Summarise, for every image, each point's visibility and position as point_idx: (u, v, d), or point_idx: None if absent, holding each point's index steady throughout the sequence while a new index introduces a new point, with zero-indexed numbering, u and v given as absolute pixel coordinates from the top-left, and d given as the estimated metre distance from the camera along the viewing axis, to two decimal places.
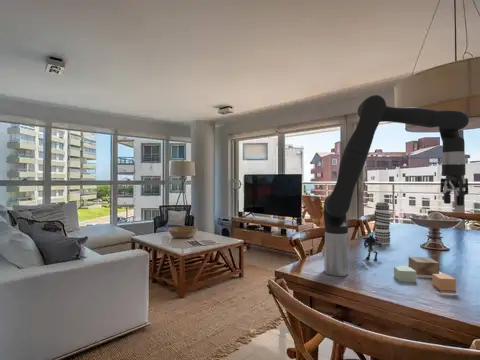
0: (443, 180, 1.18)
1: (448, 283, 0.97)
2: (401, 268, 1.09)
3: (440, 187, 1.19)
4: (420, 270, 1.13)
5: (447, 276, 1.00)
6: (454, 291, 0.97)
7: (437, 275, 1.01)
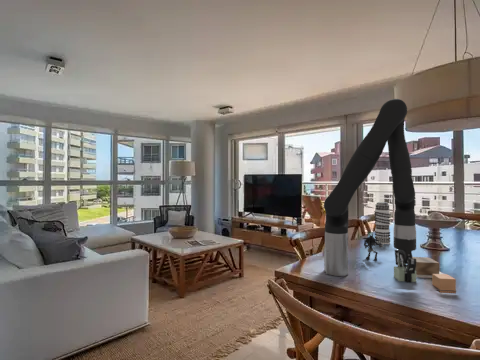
0: (397, 252, 1.14)
1: (448, 283, 0.97)
2: (401, 268, 1.09)
3: (395, 259, 1.14)
4: (420, 270, 1.13)
5: (447, 276, 1.00)
6: (454, 291, 0.97)
7: (437, 275, 1.01)
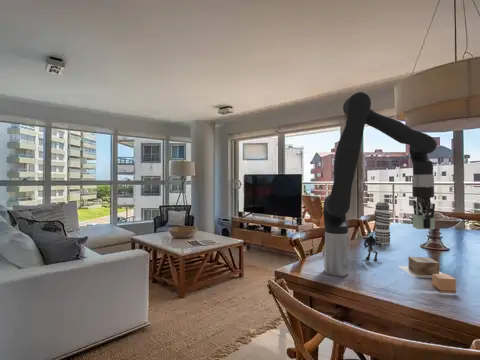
0: (415, 202, 1.22)
1: (448, 283, 0.97)
2: (420, 215, 1.16)
3: None
4: (420, 270, 1.13)
5: (447, 276, 1.00)
6: (454, 291, 0.97)
7: (437, 275, 1.01)
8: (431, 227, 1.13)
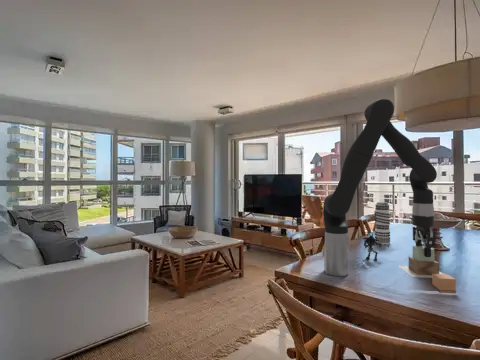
0: (415, 228, 1.22)
1: (448, 283, 0.97)
2: (420, 247, 1.17)
3: None
4: (420, 270, 1.13)
5: (447, 276, 1.00)
6: (454, 291, 0.97)
7: (437, 275, 1.01)
8: (431, 259, 1.14)
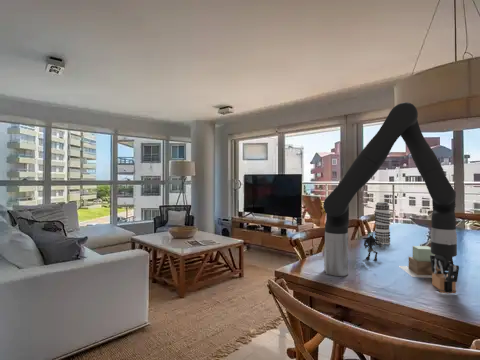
0: (433, 257, 1.05)
1: None
2: (420, 247, 1.17)
3: (431, 265, 1.06)
4: (420, 270, 1.13)
5: None
6: (454, 291, 0.97)
7: (437, 275, 1.01)
8: None
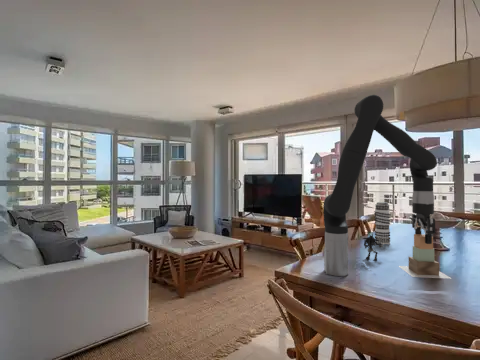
0: (414, 216, 1.22)
1: None
2: None
3: (412, 222, 1.24)
4: (420, 270, 1.13)
5: None
6: (431, 247, 1.14)
7: (418, 235, 1.18)
8: (431, 259, 1.14)
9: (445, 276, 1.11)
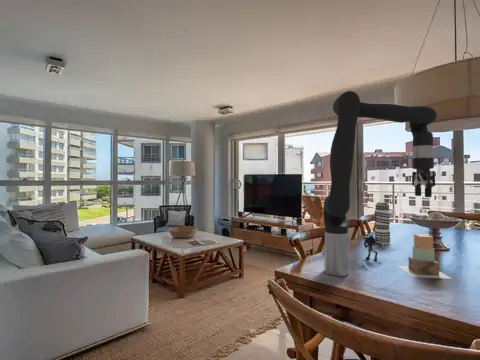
0: (414, 173, 1.22)
1: (426, 241, 1.14)
2: None
3: (412, 180, 1.23)
4: (420, 270, 1.13)
5: (426, 235, 1.16)
6: (431, 247, 1.14)
7: (418, 235, 1.18)
8: (431, 259, 1.14)
9: (445, 276, 1.11)
